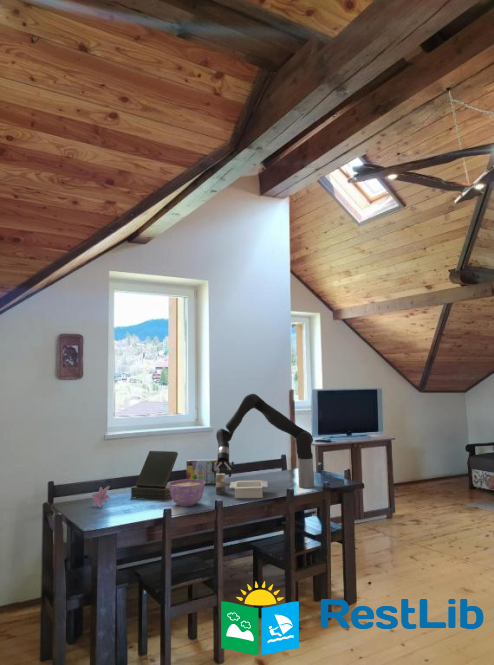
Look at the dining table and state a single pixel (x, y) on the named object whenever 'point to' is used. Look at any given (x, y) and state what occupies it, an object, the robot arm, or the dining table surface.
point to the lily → (100, 496)
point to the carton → (248, 488)
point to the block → (220, 483)
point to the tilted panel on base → (155, 476)
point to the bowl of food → (186, 491)
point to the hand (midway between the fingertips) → (222, 476)
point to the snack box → (201, 470)
